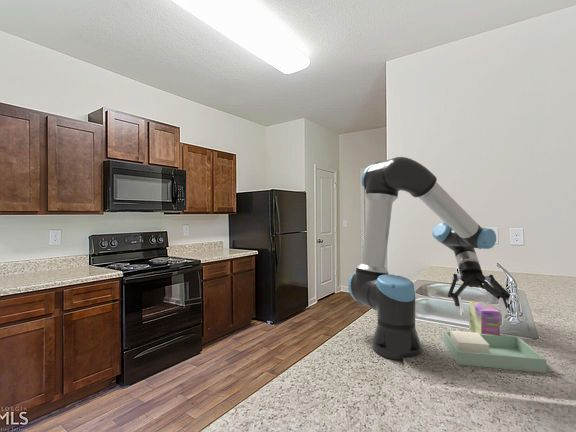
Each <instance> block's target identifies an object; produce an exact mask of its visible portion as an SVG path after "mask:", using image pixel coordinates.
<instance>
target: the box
mask: <svg viewBox="0 0 576 432" xmlns="http://www.w3.org/2000/svg"><path fill="white" fill-rule="evenodd" d="M500 319H501V311H499V310H498V309H496V308H494V307H493V306H491V305H490V303H489V304H488V303H487V302H483V301H469V302H468V327H469V328H468V332H475V333H479V334H491V335H501V334H500V333H501V331H500V330H501V328H500V327H501V324H500V321H501V320H500Z"/></svg>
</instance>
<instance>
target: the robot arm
mask: <svg viewBox="0 0 576 432" xmlns="http://www.w3.org/2000/svg"><path fill="white" fill-rule="evenodd" d="M361 185H362V187H363V190H364V191H365V197H366V198H367V199H368V204H367V205H368V206H367V212H366V213H367V214H366V221H365V229H364V237H363V245H362V253H361V260H360V263H359V264H358V265H357V266H356V269H355V272H353V274H352V275H351V276H350V277H349V280H348V282H347V283H348V293H349V294H350V296H351V297H352V298H353V300H354V301H356V302H357V303H358V304H361V306H365V307H367V308H371V309H372V310H374V311H376V313H377V317H376V318H377V319H376V320H377V324H376V328H375V331H374V335H373V337H372V342H371V344H372V350H373V351H374V352H375V353H377V354H378V355H379V356H381V357H384V358H387V359H390V360H396V361H403V360H404V359H405V358H407V359H409V358H414V357H415V358H416V357H418V356H420V355H421V354H422V351H423V349H422V348H423V347H422V343H421V341H420V337H419V334H418V332H417V329H416V291H415V285H414V282H413V281H412V280H410V279H409V278H406V277H404V276H401V275H395V274H390V273H389V270H388V269H387V268H386V260H387V251H388V245H389V235H390V226H391V219H392V210H393V204H394V202H395V201H396V200H397V199H398V198H399V191H404V192H406V193H408V194H409V195H411V197H413V198H418V199H420V200H421V201H422V202H423V203H424V204H425V205H426V206H427V207H428V208H429V209H430V210H431V211H432V212H433V213H434V214H435V215H436V216H438V217H439V218H440V219H441V220H442V221H443V222H440V223H438V224H436V225H435V226H434V227H433V229H432V232H431V234H432V235H431V236H432V237H433V238H434V239H435V240H436V241H437V242H439V243H441V244H442V245H444V246H445V247H447V248H449V249H450V250H451V251H453V252H454V256H455V260H456V263H457V267H458V271H459V274H457V273H453V276H452V282H451V285H450V287H449V291H448V293H447V295H446V296H447V298H452V300H453V302H454V306H455V307H458V309H459V314H460V317H463V316H464V315H465V313H466V312H465V309H464V305H463V299H462V298H461V294H462V293H463V291H464V290H465V289H466V288H467V287H469V288H481V289H482V290H485V291H487V292H488V294H489V293H490V295H492V296H493V297H495V298H496V299H497V303H498V306H499V309H500V313H501V315H502V317H503V319H507V318H508V317H509V312H508V310H507V309H508V307H509V304H508V302H507V300H509V299H510V297H511V294H510V292H508V291H507V290H506V289H505V288H504V287H503V286H502V285H501V284H500V283H499V282H498V281H497V280H496V279H495V277H494V275H493V274H489V275H486V276H485V275H484V274H483V270H482V268H481V264H480V261H479V258H478V255H477V253H476V250H475V249H479V250H482V249H485V250H488V249H489V250H490V249H492V248H494V246H495V245H496V243H497V234H496V232H495V231H494V230H493V229H492V228H488V227H481V225H479V224H478V223H477V221H475V220H474V218H473V217H472V216H471V215H470V214H469V213H468V212H467V211H466V210H465V209H464V208H463V207H462V206H461V205H460V204H459V203H458V202H457V201H456V200H455V199H454V198H453V197H452V196H451V195H450V194H449V193H448V192H447V191H446V190H445V189H444V188H443V187H442V186H441V185H440V184H439V183H438V179H437V176H436V175H434V174H433V172H431V171H430V170H429V169H428V168H427V167H425V166H424V165H423V164H422V163H419V162H418V161H416V160H414V159H412V158H408V157H406V156H405V157H404V156H397V157H393V158H390V159H386V160H383V161H377V162H374V163H372V164H370V165H369V166H367V167H366V168H365V169H364V171H363V173H362V176H361ZM459 280H460V281H461V282H463V283H462V284H461V285H460V286H459V287H458V289H457V290H455V287H456V285H457V282H459ZM454 290H455V292H454Z"/></svg>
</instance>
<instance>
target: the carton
mask: <svg viewBox="0 0 576 432" xmlns="http://www.w3.org/2000/svg"><path fill="white" fill-rule="evenodd" d="M449 332H450V338H451V339H452V341H453V342H454V344H455V345H456V347H457V348H458V350H459V351H466V352H477V353H489V344H488V343H487V342H486V341H485V340H484V339H483V338H482V336H481V335H480V334H479V333H475V332H470V331H461V330H460V331H459V330H449Z"/></svg>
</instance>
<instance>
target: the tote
mask: <svg viewBox="0 0 576 432" xmlns="http://www.w3.org/2000/svg"><path fill="white" fill-rule="evenodd" d="M480 335H481V336H482V338H483V339H484V340H485V341H486V342H487V343H488V344H489V353H477V352H466V351H459V350H458V348H457V347H456V345H455V344H454V342H453V341H452V339H451V338H450V331H446V330H443V335H442V336H443V337H442V339H443V343H444V345H445V346H446V349H447V350H448V352H449V353H450V355H451V357H452V358H453V360H454V361H455V363H456V365H460V366H472V367H473V366H474V367H482V368H490V369H491V368H492V369H501V370H502V369H505V370H513V371H524V372H533V373H534V372H537V373H546V374H547V358H545V357H544V356H543V355H541V354H540V353H539V352H538V351H536V350H535V349H534V348H532V347H531V346H530V345H529V344H527V342H526V341H524V340H523V339H522V338H520V337H519V336H518V335H517V336H516V335H501V334H500V335H491V334H480Z"/></svg>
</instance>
